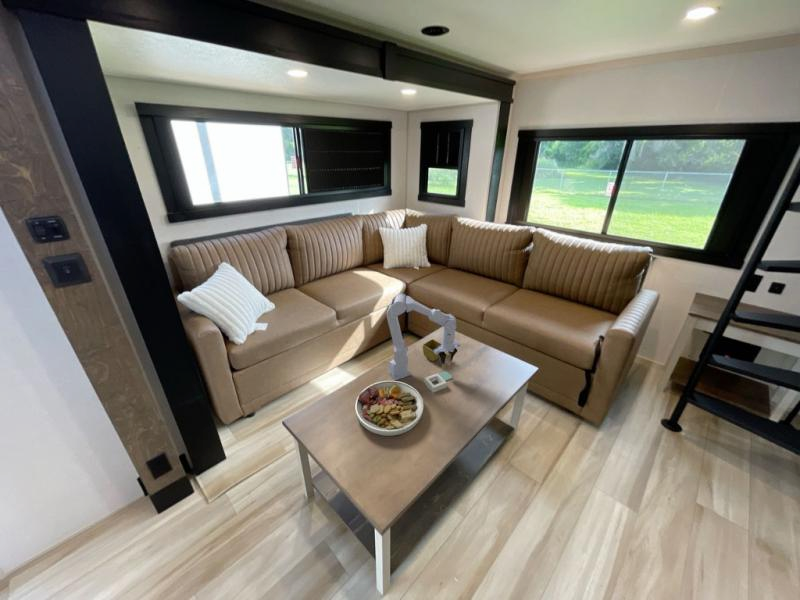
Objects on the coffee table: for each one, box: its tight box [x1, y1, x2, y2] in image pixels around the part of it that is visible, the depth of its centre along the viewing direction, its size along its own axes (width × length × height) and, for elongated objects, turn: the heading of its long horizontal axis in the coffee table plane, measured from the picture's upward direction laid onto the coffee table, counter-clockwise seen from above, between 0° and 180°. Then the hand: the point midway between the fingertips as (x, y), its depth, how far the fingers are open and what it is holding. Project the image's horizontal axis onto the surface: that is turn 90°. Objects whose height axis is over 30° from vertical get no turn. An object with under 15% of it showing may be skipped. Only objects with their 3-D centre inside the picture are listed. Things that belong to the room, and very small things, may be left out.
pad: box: [438, 370, 454, 382], centre depth 159 cm, size 6×6×1 cm
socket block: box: [423, 372, 448, 393], centre depth 153 cm, size 8×8×3 cm
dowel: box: [441, 351, 452, 371], centre depth 155 cm, size 4×4×8 cm
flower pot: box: [422, 338, 442, 362], centre depth 171 cm, size 9×9×9 cm
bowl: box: [354, 380, 424, 437], centre depth 137 cm, size 30×30×8 cm
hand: (446, 361), depth 155 cm, fingers closed on dowel, 4 cm apart
